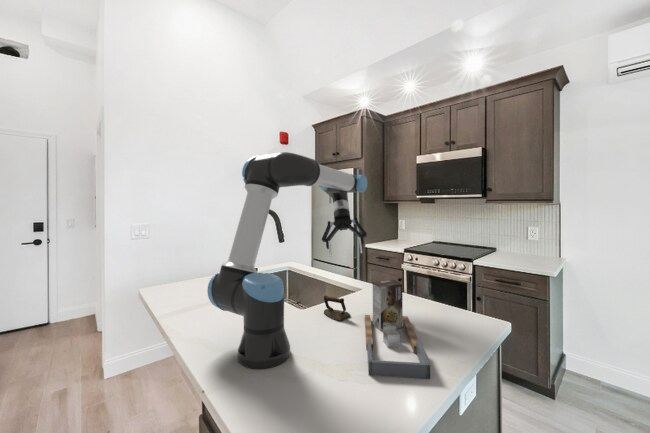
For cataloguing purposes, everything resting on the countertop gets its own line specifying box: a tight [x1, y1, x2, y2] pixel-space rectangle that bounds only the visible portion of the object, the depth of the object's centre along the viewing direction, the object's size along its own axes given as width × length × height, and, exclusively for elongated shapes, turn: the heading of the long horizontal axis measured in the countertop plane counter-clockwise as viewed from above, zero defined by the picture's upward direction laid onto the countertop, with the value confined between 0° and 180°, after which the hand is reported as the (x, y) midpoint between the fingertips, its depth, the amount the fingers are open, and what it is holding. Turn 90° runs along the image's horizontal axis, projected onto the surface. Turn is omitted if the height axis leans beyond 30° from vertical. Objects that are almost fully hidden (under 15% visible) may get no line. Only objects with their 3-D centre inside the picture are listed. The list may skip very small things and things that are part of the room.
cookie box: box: [372, 279, 404, 332], centre depth 108 cm, size 9×6×16 cm
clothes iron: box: [323, 295, 351, 323], centre depth 119 cm, size 7×11×10 cm, turn 52°
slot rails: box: [364, 314, 419, 354], centre depth 102 cm, size 24×16×2 cm, turn 174°
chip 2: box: [382, 329, 401, 349], centre depth 95 cm, size 4×4×4 cm
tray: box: [366, 339, 431, 380], centre depth 83 cm, size 13×16×4 cm
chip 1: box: [383, 322, 397, 331], centre depth 101 cm, size 4×4×4 cm
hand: (345, 253), depth 131 cm, fingers open, 13 cm apart
